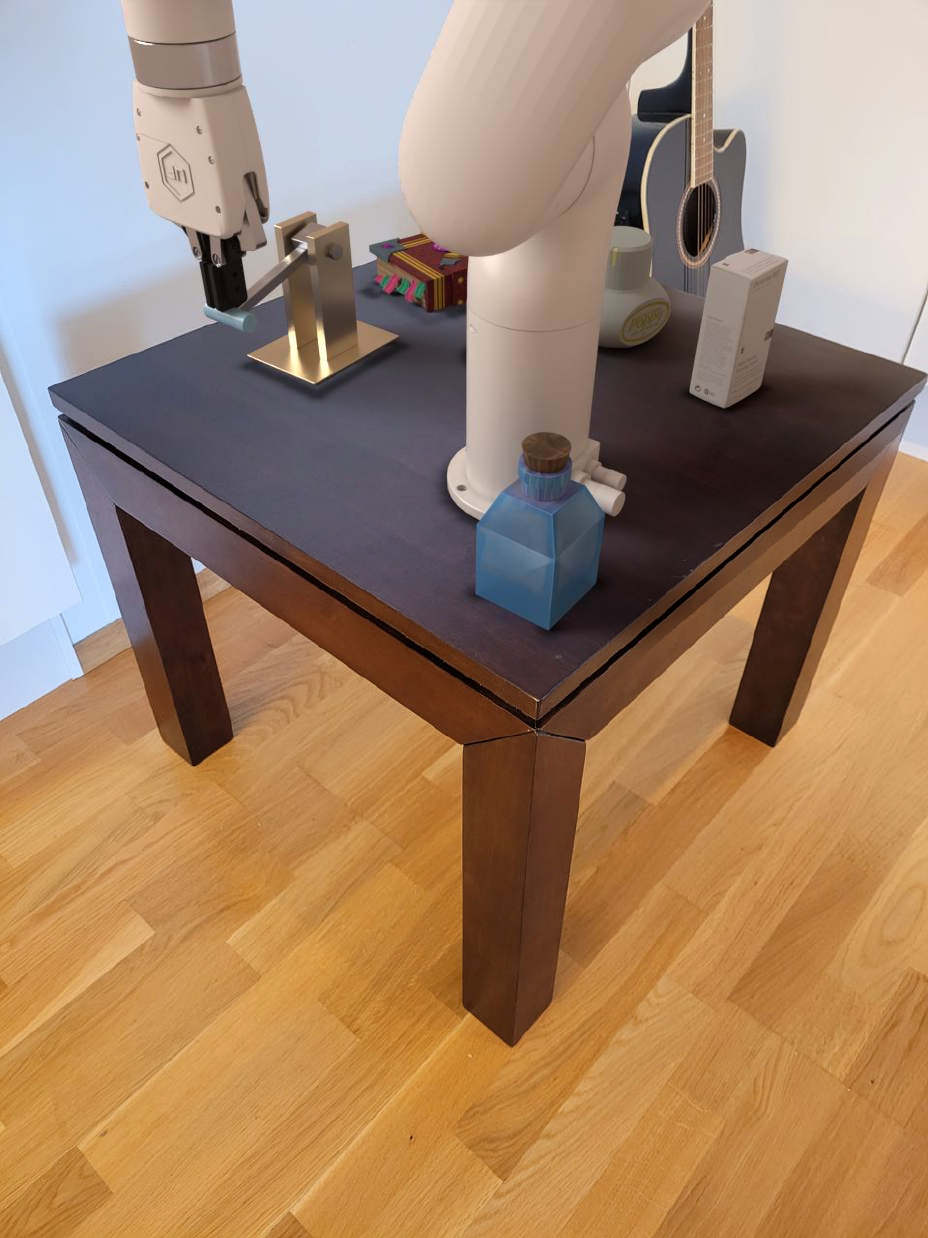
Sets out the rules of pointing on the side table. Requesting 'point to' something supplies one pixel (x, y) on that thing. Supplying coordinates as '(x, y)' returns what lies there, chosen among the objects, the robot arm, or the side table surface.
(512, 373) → the robot arm
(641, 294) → the air freshener
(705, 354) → the cosmetic box
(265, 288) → the tap lever
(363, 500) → the side table surface
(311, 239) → the bracket
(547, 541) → the perfume bottle
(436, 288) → the decorative book
